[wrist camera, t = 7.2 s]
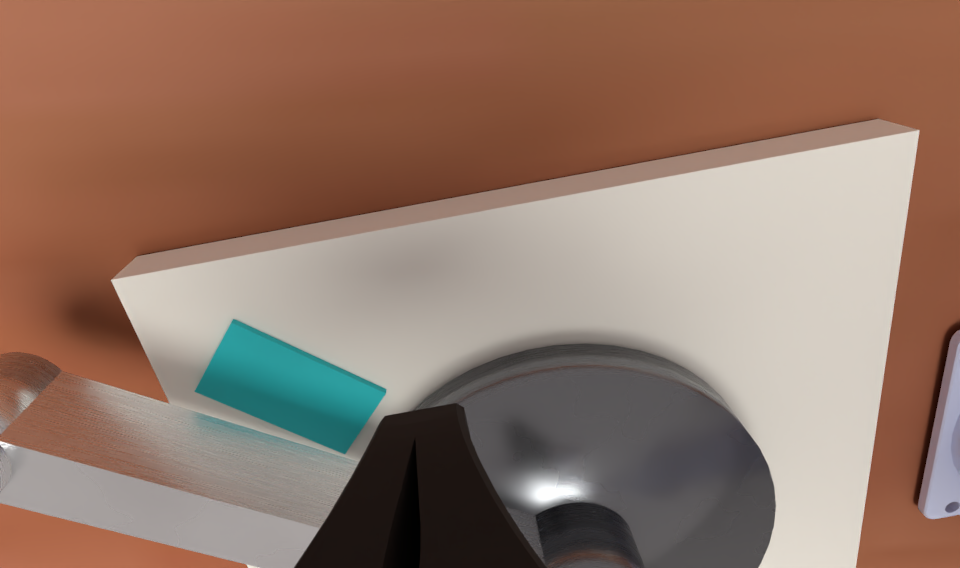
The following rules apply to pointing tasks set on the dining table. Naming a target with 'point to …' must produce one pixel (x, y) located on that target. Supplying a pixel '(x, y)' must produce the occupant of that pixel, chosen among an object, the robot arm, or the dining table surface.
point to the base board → (573, 305)
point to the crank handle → (323, 476)
